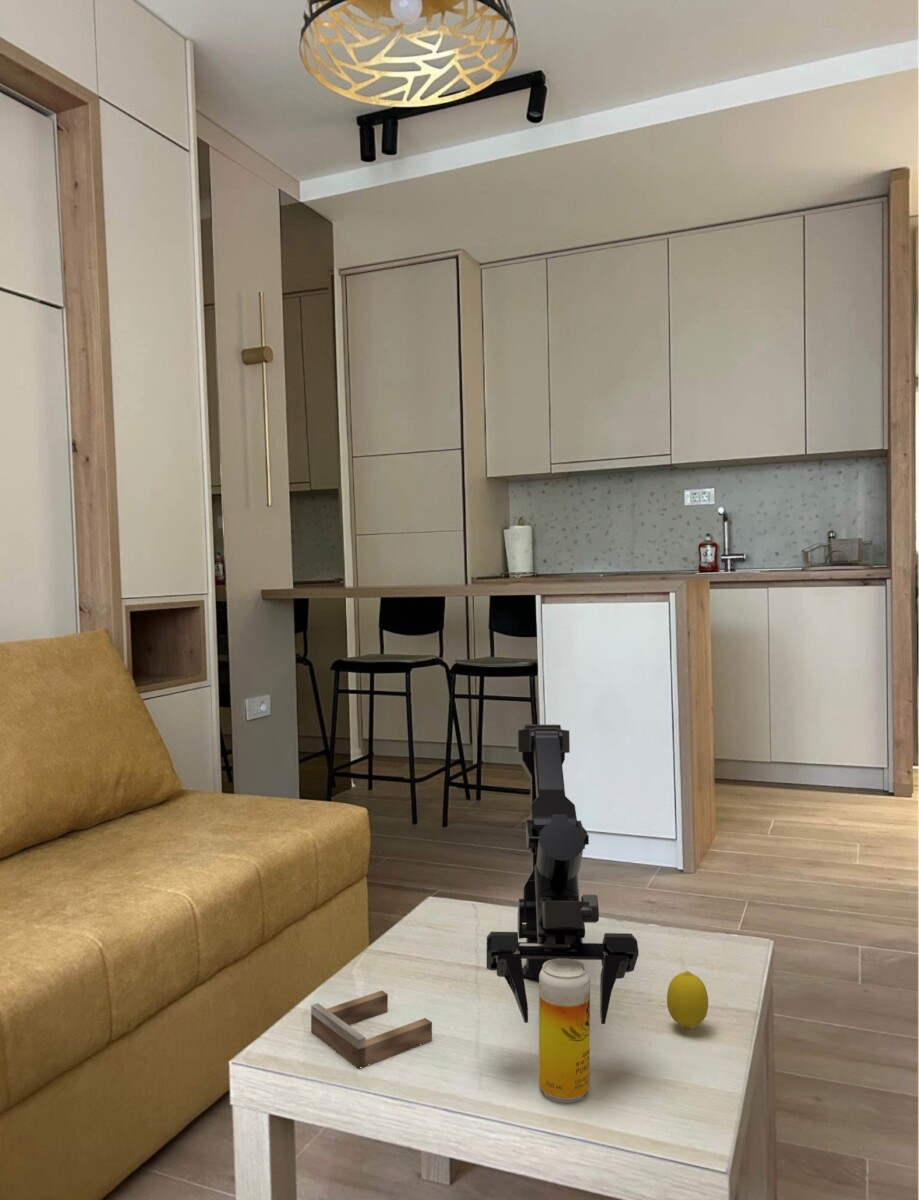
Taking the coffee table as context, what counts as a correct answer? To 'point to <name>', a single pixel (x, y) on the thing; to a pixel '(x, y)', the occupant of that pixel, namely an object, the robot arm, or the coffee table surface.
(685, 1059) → the coffee table surface
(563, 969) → the beer can
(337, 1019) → the frame
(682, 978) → the lemon
